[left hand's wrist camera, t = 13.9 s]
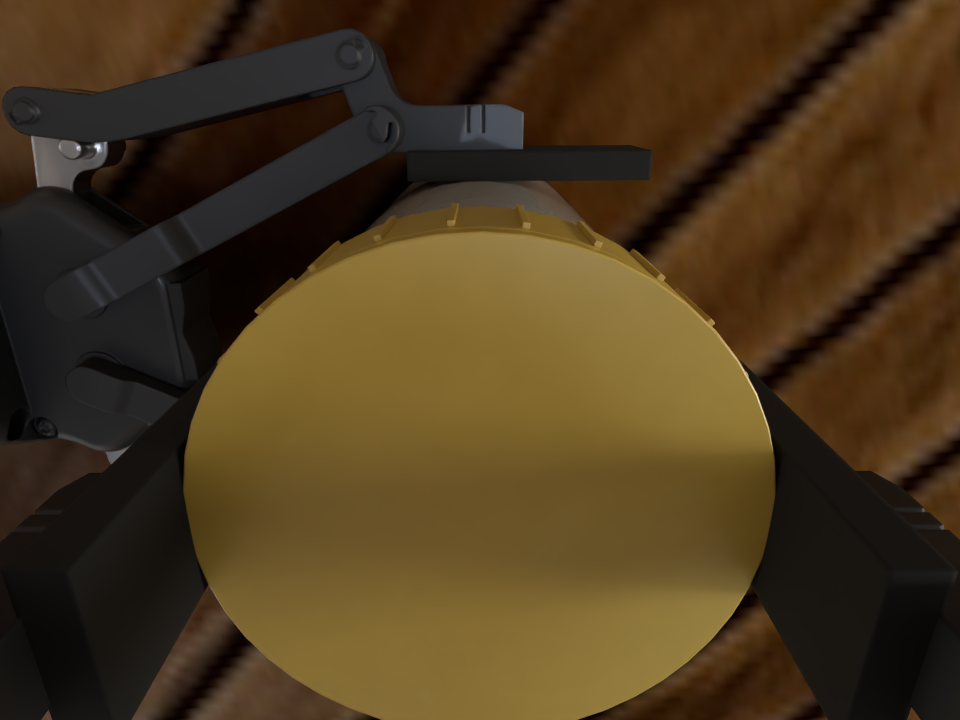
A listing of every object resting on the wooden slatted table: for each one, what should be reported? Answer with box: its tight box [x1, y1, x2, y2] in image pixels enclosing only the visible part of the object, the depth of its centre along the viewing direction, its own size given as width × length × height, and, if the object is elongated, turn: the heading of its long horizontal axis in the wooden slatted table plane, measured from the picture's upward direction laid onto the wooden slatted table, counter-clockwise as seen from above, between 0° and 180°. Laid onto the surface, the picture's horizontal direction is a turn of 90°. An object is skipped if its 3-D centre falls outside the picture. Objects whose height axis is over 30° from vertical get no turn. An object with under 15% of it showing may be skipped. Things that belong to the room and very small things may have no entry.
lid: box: [183, 203, 776, 720], centre depth 11 cm, size 10×9×2 cm
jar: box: [365, 181, 594, 232], centre depth 18 cm, size 9×9×16 cm
